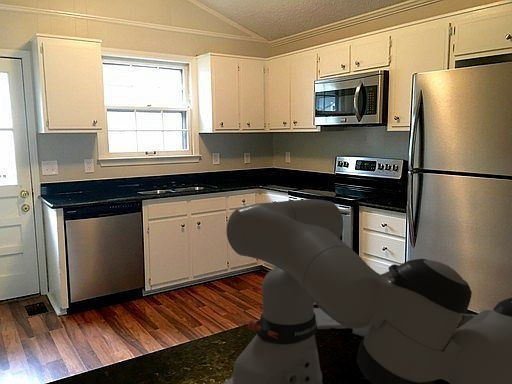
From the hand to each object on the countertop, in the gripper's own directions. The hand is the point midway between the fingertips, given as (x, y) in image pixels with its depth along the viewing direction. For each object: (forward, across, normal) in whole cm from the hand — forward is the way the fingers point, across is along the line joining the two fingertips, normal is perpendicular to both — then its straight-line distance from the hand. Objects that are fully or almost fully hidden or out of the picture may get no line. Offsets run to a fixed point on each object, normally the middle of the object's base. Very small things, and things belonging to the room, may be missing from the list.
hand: (448, 321), depth 109 cm
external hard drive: (+30, -10, -6) cm, 32 cm away
